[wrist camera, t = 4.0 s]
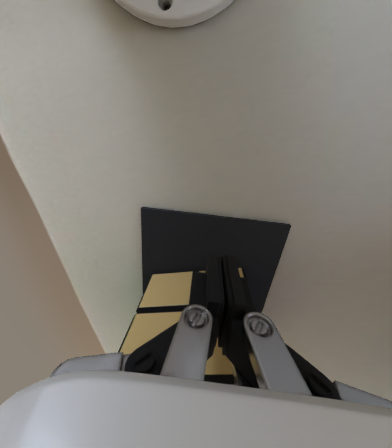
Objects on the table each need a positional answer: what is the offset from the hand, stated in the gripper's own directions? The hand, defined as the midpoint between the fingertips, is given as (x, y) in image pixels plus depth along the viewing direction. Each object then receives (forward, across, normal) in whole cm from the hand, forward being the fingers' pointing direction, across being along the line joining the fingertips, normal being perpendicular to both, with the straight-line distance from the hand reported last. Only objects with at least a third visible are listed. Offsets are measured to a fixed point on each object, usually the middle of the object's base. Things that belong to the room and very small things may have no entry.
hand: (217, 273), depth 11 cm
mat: (+7, 0, +12) cm, 14 cm away
